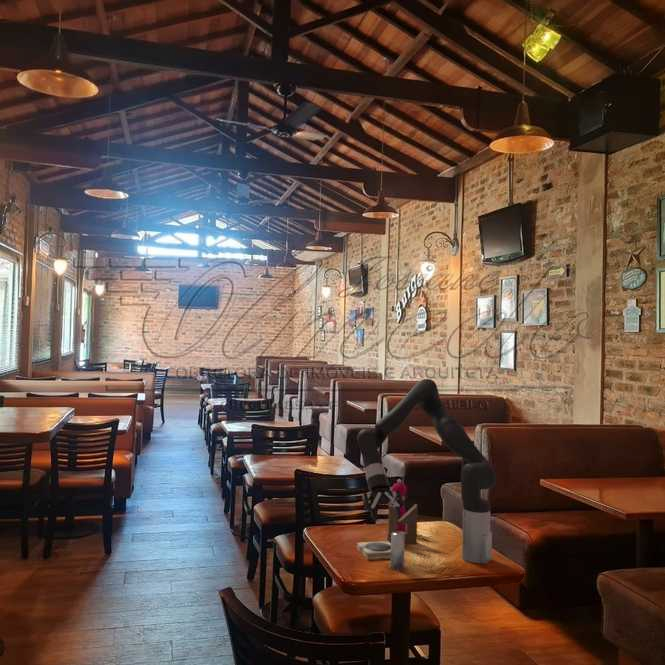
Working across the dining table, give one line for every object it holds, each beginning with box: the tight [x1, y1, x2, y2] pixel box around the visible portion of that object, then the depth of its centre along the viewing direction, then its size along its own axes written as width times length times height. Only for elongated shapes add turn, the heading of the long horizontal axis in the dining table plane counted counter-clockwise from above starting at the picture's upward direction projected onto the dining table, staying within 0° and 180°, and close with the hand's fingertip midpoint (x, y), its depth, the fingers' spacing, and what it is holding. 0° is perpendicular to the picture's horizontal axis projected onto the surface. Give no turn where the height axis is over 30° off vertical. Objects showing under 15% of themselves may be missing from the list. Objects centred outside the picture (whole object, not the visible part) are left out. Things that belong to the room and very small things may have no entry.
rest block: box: [356, 540, 391, 561], centre depth 210 cm, size 12×12×2 cm
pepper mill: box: [391, 478, 408, 532], centre depth 239 cm, size 7×7×20 cm
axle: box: [390, 531, 405, 570], centre depth 197 cm, size 4×4×11 cm
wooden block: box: [386, 496, 418, 545], centre depth 223 cm, size 4×11×18 cm, turn 89°
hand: (387, 519), depth 206 cm, fingers open, 8 cm apart
